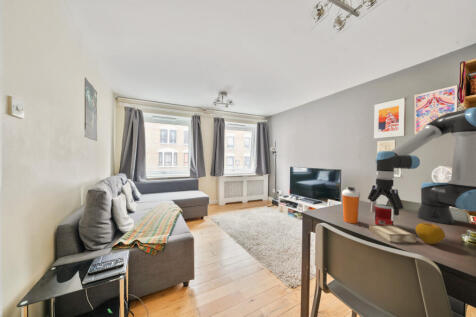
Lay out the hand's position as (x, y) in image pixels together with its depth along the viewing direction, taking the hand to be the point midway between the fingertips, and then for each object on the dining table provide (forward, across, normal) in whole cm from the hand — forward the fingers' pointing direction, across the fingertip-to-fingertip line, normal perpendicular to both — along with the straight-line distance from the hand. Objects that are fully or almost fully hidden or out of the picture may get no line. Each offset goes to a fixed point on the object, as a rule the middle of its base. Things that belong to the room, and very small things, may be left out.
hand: (383, 216), depth 97 cm
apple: (+5, +20, +4) cm, 21 cm away
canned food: (+5, 0, 0) cm, 5 cm away
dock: (+5, +13, -8) cm, 16 cm away
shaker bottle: (+6, -6, -14) cm, 17 cm away
